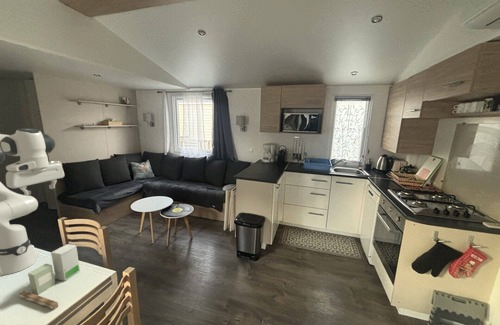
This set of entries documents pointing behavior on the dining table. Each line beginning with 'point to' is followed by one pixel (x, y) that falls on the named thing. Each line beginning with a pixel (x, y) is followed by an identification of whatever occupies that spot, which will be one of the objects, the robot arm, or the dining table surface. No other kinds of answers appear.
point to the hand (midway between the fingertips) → (40, 191)
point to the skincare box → (65, 262)
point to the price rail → (39, 300)
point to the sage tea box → (41, 279)
